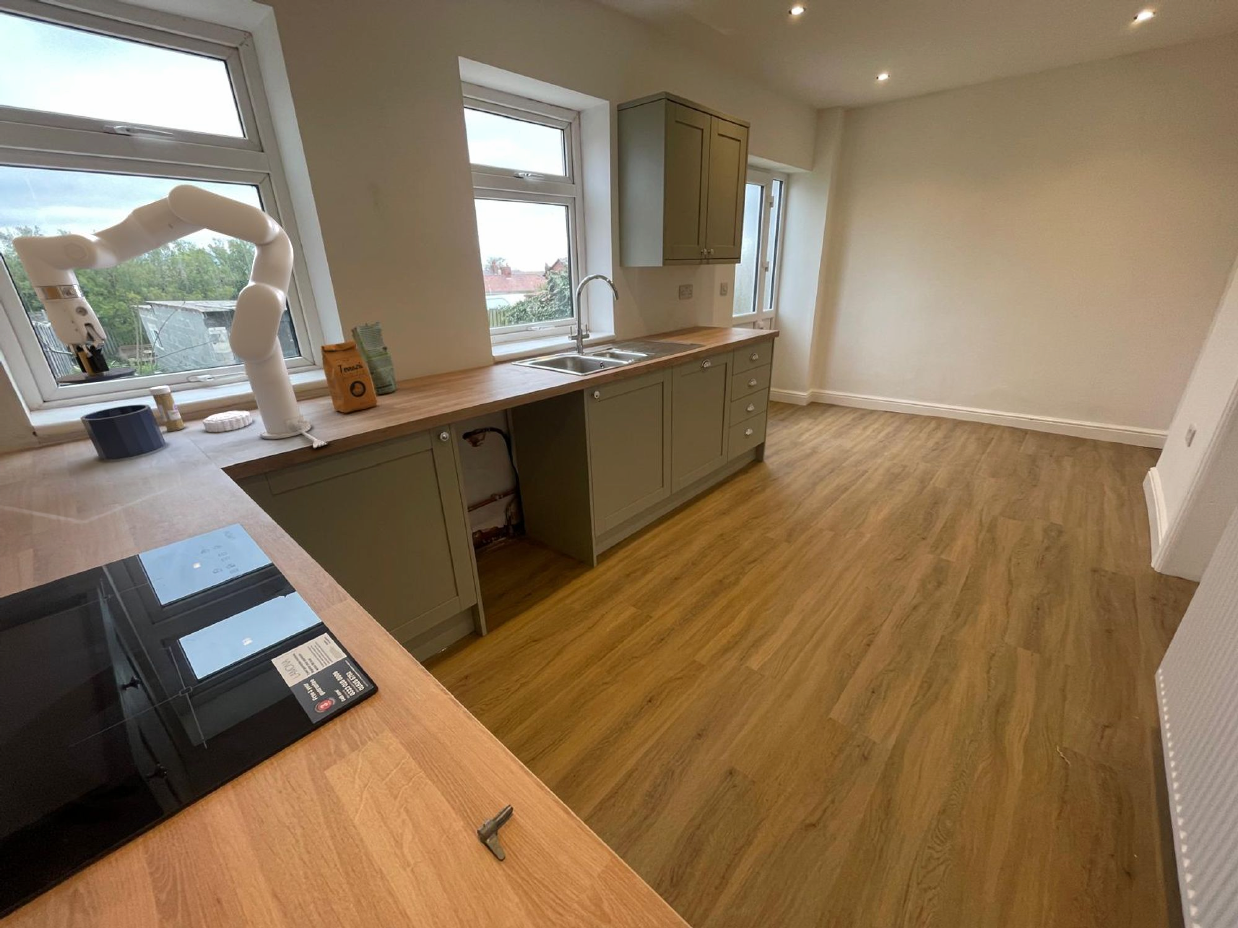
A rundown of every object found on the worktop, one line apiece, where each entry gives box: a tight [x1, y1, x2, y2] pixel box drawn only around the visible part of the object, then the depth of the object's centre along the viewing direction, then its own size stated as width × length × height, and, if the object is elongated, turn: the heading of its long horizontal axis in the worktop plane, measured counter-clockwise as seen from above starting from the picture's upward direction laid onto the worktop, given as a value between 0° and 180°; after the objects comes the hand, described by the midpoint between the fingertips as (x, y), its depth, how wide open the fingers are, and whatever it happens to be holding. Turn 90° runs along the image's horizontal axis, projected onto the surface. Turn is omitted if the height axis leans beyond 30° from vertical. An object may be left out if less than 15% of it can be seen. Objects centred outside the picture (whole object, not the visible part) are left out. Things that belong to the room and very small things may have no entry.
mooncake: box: [202, 410, 253, 433], centre depth 155 cm, size 12×12×4 cm
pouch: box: [350, 321, 398, 395], centre depth 183 cm, size 11×12×25 cm
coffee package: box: [320, 339, 378, 413], centre depth 163 cm, size 10×12×22 cm
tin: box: [79, 404, 167, 461], centre depth 135 cm, size 14×14×12 cm
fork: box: [301, 431, 329, 449], centre depth 139 cm, size 3×20×2 cm, turn 45°
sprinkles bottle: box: [149, 385, 186, 432], centre depth 153 cm, size 5×5×14 cm
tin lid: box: [55, 351, 138, 385], centre depth 124 cm, size 15×15×7 cm
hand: (96, 371), depth 124 cm, fingers closed on tin lid, 3 cm apart
